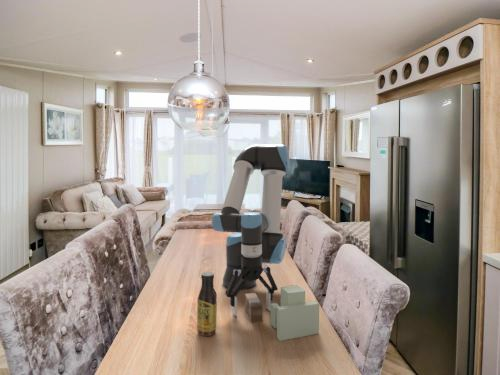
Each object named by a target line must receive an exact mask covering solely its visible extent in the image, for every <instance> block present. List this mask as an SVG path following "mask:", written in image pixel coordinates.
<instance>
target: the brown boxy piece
mask: <svg viewBox="0 0 500 375" xmlns="http://www.w3.org/2000/svg"><path fill="white" fill-rule="evenodd" d="M244 310H245V312H246V314H247V316H248V318H249V321H250V323H251V324H254V323H255V324H256V323H263V316H264V314H263V304H262V302H261V300H260V299H259V297H258V295H257V294H256V292H251V293H250V292H249V293H244Z"/></svg>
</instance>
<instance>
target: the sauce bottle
mask: <svg viewBox="0 0 500 375" xmlns="http://www.w3.org/2000/svg"><path fill="white" fill-rule="evenodd" d="M200 278H201V287H200V291H199V292H198V293H199V294H198V296H197V308H196V309H197V312H196V315H197V316H196V322H197V323H196V326H197V327H196V328H197V333H198V334H199V336H202V337H209V336H213V335H214V334H215V333H216V331H217V306H218V301H217V299H218V298H217V295H218V294H217V292H216V289H215V288H214V279H215V273H214V272H212V271H206V272H205V271H204V272H202V273H201V277H200Z"/></svg>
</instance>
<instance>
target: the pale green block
mask: <svg viewBox="0 0 500 375" xmlns="http://www.w3.org/2000/svg"><path fill="white" fill-rule="evenodd" d="M269 312H270V316H269V317H270V325H271V326H272V327H273V328H274V329H276V339H277V340H278V341H279V342H281V341H282V342H283V341H286V340H292V339H296V338H297V339H298V338H302V337H306V336H313V335H317V334H319V333H320V303H319V302H318V301H317V300H316V301H310V302H309V301H308V302H306V290H305V289H304V288H302V287H301V286H299V285H298V284H293V285H285V286H280V305H279V304H278V303H277V302H272V303H271V304H270V311H269Z"/></svg>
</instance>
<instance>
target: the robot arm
mask: <svg viewBox="0 0 500 375" xmlns="http://www.w3.org/2000/svg"><path fill="white" fill-rule="evenodd" d="M232 168H233V172H232V176H231V178H230V179H231V180H230V183H229V186H228V189H227V192H226V195H225V198H224V201H223V204H222V208H221V211H219V212H214V214H213V216H212V220H211V226H212V229H213V230H214V231H215V232H221V233H230V234H229V235H228V236H227V237H226V244H225V247H226V248H225V249H226V251H225V252H226V258H225V260H226V268H225V270H224V273H223V278H222V285H223V286H224V287H225V288H226V291H225V293H224V295H225V297H227V298H229V300H230V302H229V305H230V306H231V307H232V314H233V316H234V317H237V316H238V298H237V297H236V296H237V295H238V293H239V292H240V291H241V290H243V289H244V290H245V289H250V288H253V287H254V286H256V284H257V280H259V281H260V283H261V284H262V285H263V286H264V287H265V288H266V290H267V291H265V308H266V310H268V311H269V312H270V304H271V302H273V300H274V296H273V295H274V293H275V291H278V290H279V288H278V286H277V283H276V282H275V279H274V277H273V275H272V273H271V267H270V266H269V265H272V264H275V265H278V264H281V263H282V262H283V260H284V258H285V254H286V249H287V238H286V237H284V232H282V231H281V228H280V227H281V209H282V193H283V192H282V190H283V177H284V176H285V175H287V171H288V170H290V168H291V161H290V155H289V149H288V147H287V146H286V144H278V143H276V144H252V145H250V146H247V147H246V148H245V149H243V150H242V151H241V152H240V153H239V154H238V156H236V159H235V160H234V164H233V167H232ZM255 170H257V171H260V174H261V175H262V176H263V182H262V184H263V185H262V201H261V212H258V211H257V212H256V211H247V212H244V213H241V209H242V206H243V203H244V202H243V201H244V199H245V195H246V192H247V188H248V185H249V181H250V177H251V176H252V175H253V174H254V172H255ZM263 264H269V265H264V266H262V265H263ZM263 272H264V273H265V274H266V277H267V279H268V281H269V283H270V284H268V282H267V281H266V280H265V279H264V277H262V274H263Z"/></svg>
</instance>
